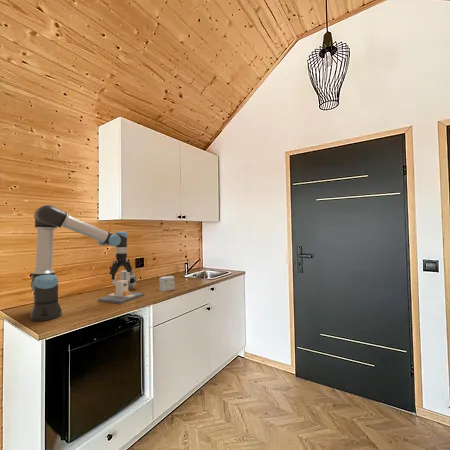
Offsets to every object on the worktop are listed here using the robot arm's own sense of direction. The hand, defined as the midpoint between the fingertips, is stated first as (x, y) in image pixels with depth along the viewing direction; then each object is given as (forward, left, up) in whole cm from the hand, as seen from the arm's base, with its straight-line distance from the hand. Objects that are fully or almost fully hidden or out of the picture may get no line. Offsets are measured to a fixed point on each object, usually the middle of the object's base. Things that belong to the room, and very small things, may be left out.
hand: (121, 282), depth 197 cm
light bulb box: (+32, -17, -12) cm, 38 cm away
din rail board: (0, 0, -11) cm, 11 cm away
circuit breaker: (+24, +15, -12) cm, 31 cm away
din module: (0, 0, -9) cm, 9 cm away
